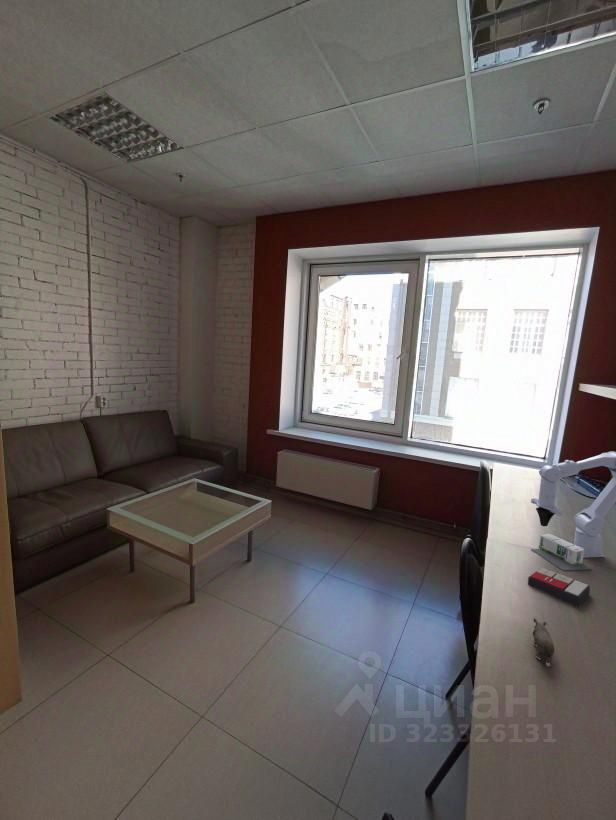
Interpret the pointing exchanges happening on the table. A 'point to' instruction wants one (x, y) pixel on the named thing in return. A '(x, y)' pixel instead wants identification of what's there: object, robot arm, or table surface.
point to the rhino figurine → (543, 640)
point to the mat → (560, 561)
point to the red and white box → (560, 586)
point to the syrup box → (561, 549)
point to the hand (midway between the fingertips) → (543, 525)
